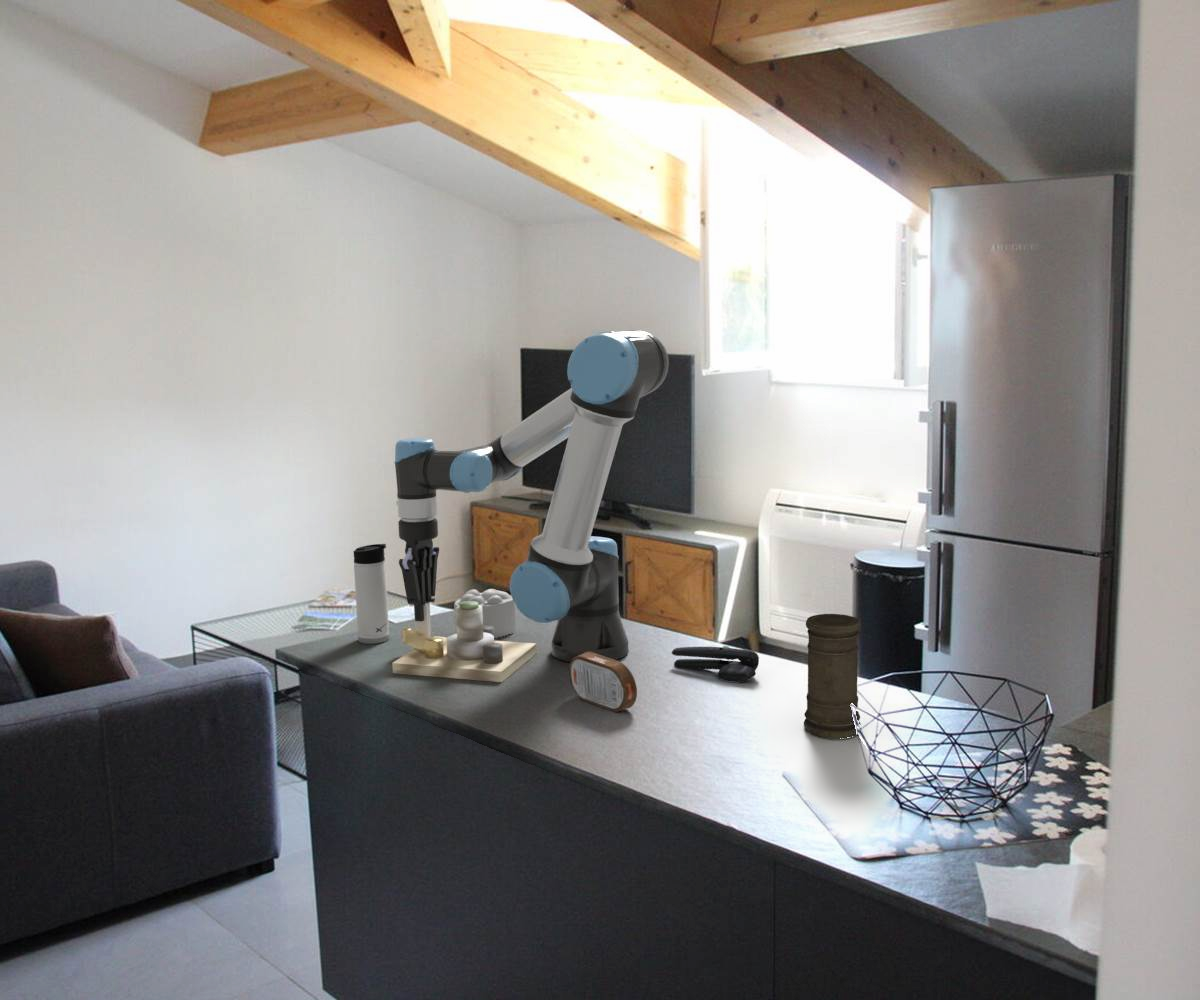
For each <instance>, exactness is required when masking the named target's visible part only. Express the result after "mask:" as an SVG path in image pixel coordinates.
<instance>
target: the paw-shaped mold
mask: <svg viewBox="0 0 1200 1000" xmlns="http://www.w3.org/2000/svg"><path fill="white" fill-rule="evenodd" d="M465 601H475V602H478V605H481V606H482V614H483V626H492V627H494V638H496V639H499V638H498V637H500V638H503V637H502V636H504V637H506V636H505V635H507V636H509V635H508V634H510V635H512V634H511V633H513V634H515V633H517V632H518V623H517V622H518V620H517V618H518V616H517V614H518V613H517V607H516V604H515V601H513V599H512V596H511V594H509V593H508V592H506V591H503V590H497V589H495V588H489V589H486V590H484V591H483V592H480V591H478V590H477V589H474V588H473V589H470V590H468V591H467V592H465V594H464V595H463V596H461V597H460V598H458V599H456V600H455V602H454V603H453V606H454V607H453V610H454V634H457V626H456V607H458V606H459V604H460V603H461V602H465ZM514 632H515V633H514Z"/></svg>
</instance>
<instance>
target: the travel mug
mask: <svg viewBox="0 0 1200 1000" xmlns="http://www.w3.org/2000/svg"><path fill="white" fill-rule="evenodd" d="M386 548H387V545H386V543H377V544H375V543H374V544H368V545H363V546H359V547H357V548H355V549H354V550H353V568H354V569H353V571H354V587H355V588H354V589H355V603H356V604H355V608H356V621H357V633H358V634H357V640H358V642H359V643H361V644H365V645H366V644H367V645H375V644H382V643H385V642H388V640H390V631H389V630H390V623H389V610H388V609H389V608H388V605H389V604H388V592H387V591H388V590H387V588H388V587H387V573H386V572H387V571H386V570H387V569H386V558H385V549H386Z"/></svg>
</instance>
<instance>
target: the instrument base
mask: <svg viewBox="0 0 1200 1000" xmlns="http://www.w3.org/2000/svg"><path fill="white" fill-rule="evenodd" d="M456 626H457V634H455V633H454V634H451V635H449V636H440V637H441V638H443V647H444V655H443V656H441V657H437V658H428V657H425V652H423V651H421V650H418V649H416V648H413V649H412V650H410V651H409V652H407V653H406V654H404V655H402V656H401V657H399V658H397V659H395V660H394V661H393V662H392V664H391V665H392V666H391V667H392V674H396V675H397V674H399V675H409V676H412V675H413V676H421V677H422V676H424V677H435V678H447V679H459V680H469V681H470V680H471V681H483V682H484V681H485V682H496V683H503V682H505V681H506V679H508V678H509V677H510V676H512V674H514V673H515V672H516V671H517V670H518V669H520V668H522V666H524V665H525V664H526V663H527V662H529V660H530V659H532V658H533V657H534V656H535V655H537V654H538V651H537V650H538V649H537V646H538V645H537V643H535V642H520V641H509V640H507V641H506V640H495V639H494V627H492V626H483V614H482V606H481V605H478V602H475V601H465V602H461V603H460V604H459V606H458V607H456ZM433 637H439V636H435V635H434V636H433Z"/></svg>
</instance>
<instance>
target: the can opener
mask: <svg viewBox="0 0 1200 1000" xmlns="http://www.w3.org/2000/svg"><path fill="white" fill-rule="evenodd" d="M671 654H672V656H675V657H689V658H680V659H676V660H675V661H674V663H673V665H674V667H676V668H681V669H686V670H699V671H700V670H718V672H717V674H716V676H717V678H718V679H720V680H722V681H725V682H730V683H743V682H747V681H749V680H751V679H752V678H754V677H755V676H756V671H757V669H758V667H759V664H760V663H759V661H760V660H759V659H760V657H759V655H758V653H757V652H755V651H754V650H751V649H750V650H749V649H747V648H742V649H741V648H733V647H729V646H728V645H723V646H722V647H720V646H684V647H683V646H682V647H675V648H673V650H672V651H671ZM690 657H691V658H690ZM693 657H694V658H693ZM736 660H738V661H736Z"/></svg>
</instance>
